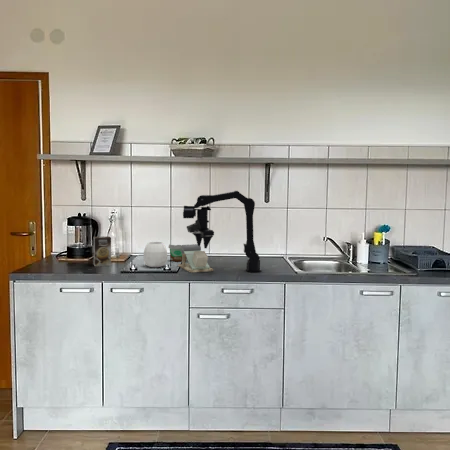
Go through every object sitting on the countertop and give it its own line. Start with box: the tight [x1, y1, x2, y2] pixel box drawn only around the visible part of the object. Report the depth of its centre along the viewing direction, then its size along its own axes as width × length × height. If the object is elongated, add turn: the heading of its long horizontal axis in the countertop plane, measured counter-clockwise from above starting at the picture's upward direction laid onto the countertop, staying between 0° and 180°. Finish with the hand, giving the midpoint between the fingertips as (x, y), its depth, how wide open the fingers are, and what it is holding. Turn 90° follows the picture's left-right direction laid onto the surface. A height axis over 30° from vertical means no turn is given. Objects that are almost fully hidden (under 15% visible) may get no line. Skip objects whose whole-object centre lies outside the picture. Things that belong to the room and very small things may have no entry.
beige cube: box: [192, 250, 209, 267], centre depth 256 cm, size 6×6×6 cm
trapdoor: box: [181, 243, 211, 270], centre depth 262 cm, size 10×20×5 cm, turn 25°
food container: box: [167, 243, 187, 263], centre depth 284 cm, size 12×6×10 cm, turn 101°
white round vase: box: [143, 241, 168, 268], centre depth 266 cm, size 13×13×14 cm
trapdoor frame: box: [177, 254, 214, 273], centre depth 262 cm, size 13×20×8 cm
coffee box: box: [93, 236, 112, 267], centre depth 266 cm, size 9×6×16 cm
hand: (202, 247), depth 257 cm, fingers open, 9 cm apart
